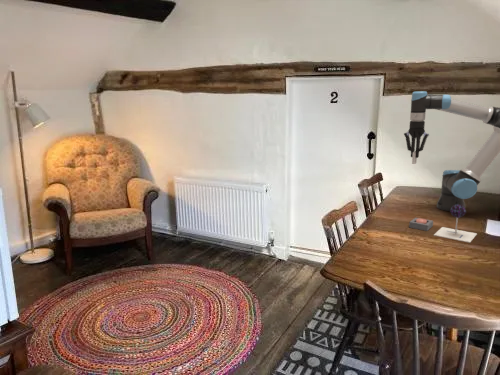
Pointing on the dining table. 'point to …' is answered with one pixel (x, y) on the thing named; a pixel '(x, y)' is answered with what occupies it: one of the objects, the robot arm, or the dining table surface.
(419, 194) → the dining table surface
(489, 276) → the dining table surface
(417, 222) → the button
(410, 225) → the button housing
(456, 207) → the lollipop
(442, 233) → the paper pad
